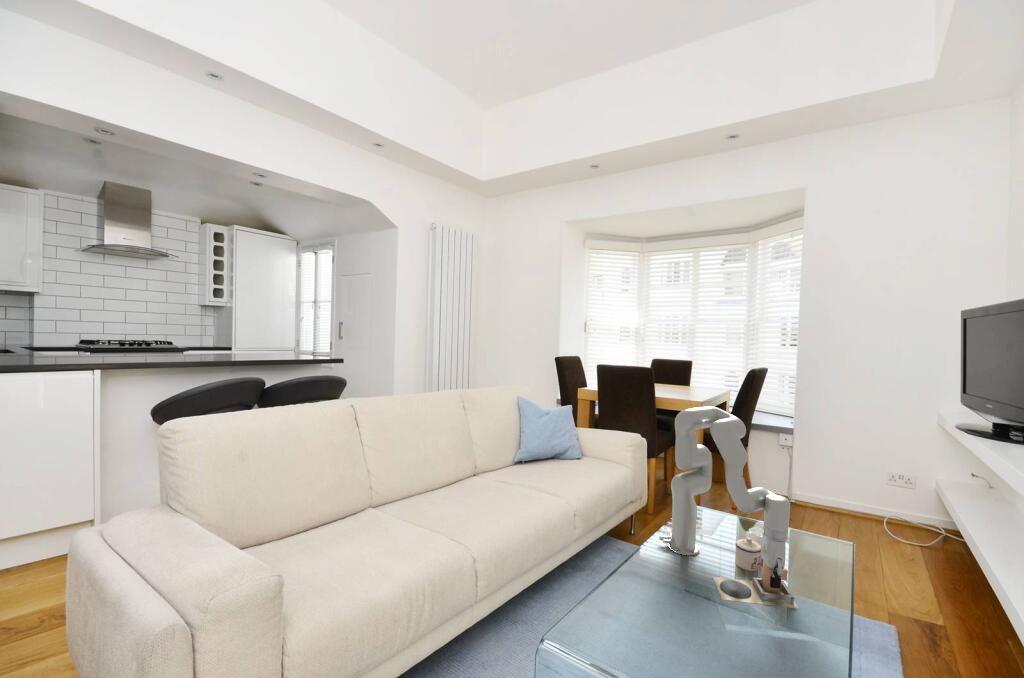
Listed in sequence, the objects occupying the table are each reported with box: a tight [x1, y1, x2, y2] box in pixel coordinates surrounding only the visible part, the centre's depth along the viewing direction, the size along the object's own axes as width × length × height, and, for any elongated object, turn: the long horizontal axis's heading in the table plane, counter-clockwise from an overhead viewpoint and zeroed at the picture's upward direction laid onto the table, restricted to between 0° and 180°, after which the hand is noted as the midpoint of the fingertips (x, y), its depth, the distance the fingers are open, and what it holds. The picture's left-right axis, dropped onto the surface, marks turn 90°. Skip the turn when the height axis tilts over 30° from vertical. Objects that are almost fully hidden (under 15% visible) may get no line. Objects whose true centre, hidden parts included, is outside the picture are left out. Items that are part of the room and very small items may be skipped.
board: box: [712, 576, 800, 610], centre depth 169 cm, size 24×14×4 cm, turn 80°
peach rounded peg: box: [761, 560, 789, 594], centre depth 168 cm, size 8×6×10 cm
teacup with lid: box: [734, 536, 762, 572], centre depth 187 cm, size 12×9×12 cm
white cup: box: [748, 527, 763, 561], centre depth 195 cm, size 8×8×10 cm
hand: (771, 581), depth 168 cm, fingers closed on peach rounded peg, 6 cm apart
